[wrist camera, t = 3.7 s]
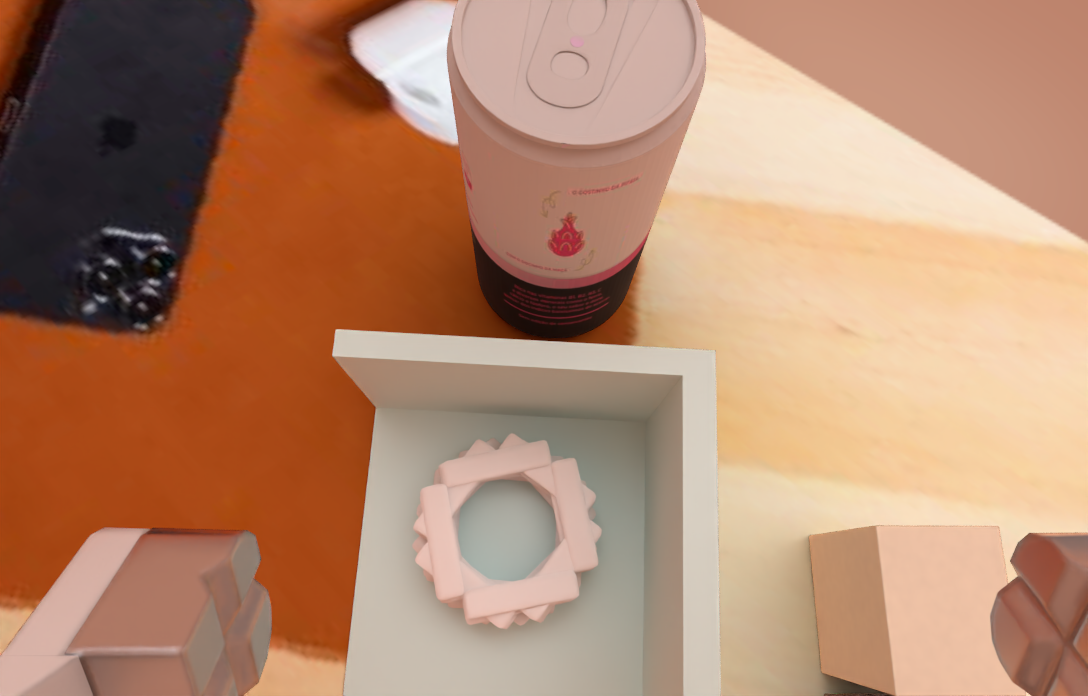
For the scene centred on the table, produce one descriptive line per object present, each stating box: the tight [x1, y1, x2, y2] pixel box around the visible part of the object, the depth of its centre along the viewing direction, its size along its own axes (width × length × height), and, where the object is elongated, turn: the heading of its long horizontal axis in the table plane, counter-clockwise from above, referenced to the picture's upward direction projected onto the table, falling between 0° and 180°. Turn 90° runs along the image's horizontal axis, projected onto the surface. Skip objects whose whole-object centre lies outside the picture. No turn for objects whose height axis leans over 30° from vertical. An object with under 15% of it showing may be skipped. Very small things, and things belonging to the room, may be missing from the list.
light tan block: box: [809, 525, 1026, 696], centre depth 27 cm, size 4×5×6 cm
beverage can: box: [447, 0, 706, 338], centre depth 26 cm, size 7×7×15 cm
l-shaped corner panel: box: [332, 329, 721, 696], centre depth 26 cm, size 12×12×8 cm
